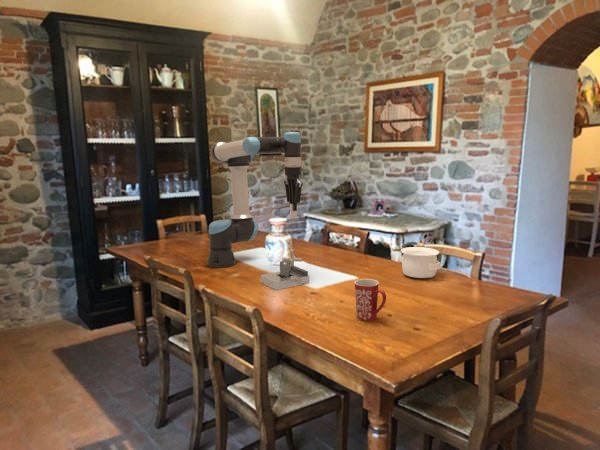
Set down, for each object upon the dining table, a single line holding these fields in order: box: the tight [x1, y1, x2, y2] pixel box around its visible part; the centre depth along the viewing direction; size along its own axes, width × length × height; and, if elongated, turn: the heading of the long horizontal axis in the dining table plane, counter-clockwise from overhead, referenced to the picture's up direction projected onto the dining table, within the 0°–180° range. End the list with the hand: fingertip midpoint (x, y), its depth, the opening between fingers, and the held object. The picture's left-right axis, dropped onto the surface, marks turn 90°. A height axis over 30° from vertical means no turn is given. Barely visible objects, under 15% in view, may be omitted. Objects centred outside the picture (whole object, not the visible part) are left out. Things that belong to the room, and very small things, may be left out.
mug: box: [353, 278, 387, 322], centre depth 171 cm, size 13×9×14 cm
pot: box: [398, 246, 441, 279], centre depth 224 cm, size 22×17×12 cm
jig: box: [259, 265, 311, 291], centre depth 216 cm, size 14×18×6 cm
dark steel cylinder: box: [279, 260, 291, 278], centre depth 215 cm, size 5×5×10 cm
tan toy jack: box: [281, 249, 303, 266], centre depth 239 cm, size 10×10×10 cm
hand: (293, 217), depth 218 cm, fingers closed
